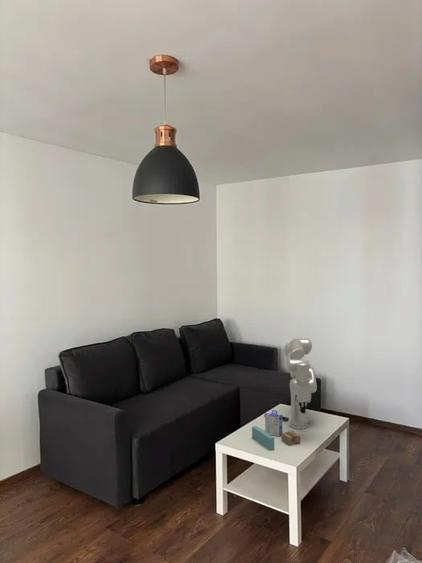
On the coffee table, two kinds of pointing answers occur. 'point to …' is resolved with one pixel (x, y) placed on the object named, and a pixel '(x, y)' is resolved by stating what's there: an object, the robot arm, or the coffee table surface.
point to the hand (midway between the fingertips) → (302, 412)
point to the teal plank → (263, 437)
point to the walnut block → (290, 438)
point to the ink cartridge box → (273, 424)
